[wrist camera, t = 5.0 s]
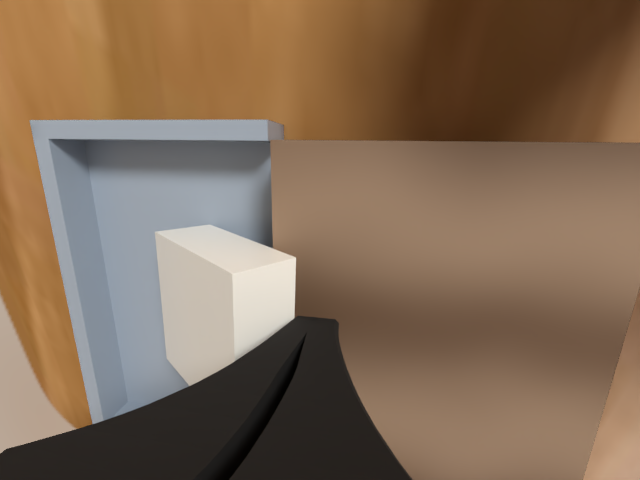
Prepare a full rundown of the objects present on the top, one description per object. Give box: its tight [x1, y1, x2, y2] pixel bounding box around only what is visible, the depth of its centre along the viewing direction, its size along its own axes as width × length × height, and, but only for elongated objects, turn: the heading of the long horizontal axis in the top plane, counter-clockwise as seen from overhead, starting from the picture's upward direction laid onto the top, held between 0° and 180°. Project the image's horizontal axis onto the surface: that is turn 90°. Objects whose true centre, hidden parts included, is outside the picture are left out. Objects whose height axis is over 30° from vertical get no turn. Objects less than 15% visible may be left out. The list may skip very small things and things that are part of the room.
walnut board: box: [270, 140, 640, 480], centre depth 11 cm, size 12×10×2 cm
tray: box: [30, 120, 284, 424], centre depth 13 cm, size 13×8×2 cm, turn 179°
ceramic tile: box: [155, 225, 296, 386], centre depth 11 cm, size 5×5×2 cm
